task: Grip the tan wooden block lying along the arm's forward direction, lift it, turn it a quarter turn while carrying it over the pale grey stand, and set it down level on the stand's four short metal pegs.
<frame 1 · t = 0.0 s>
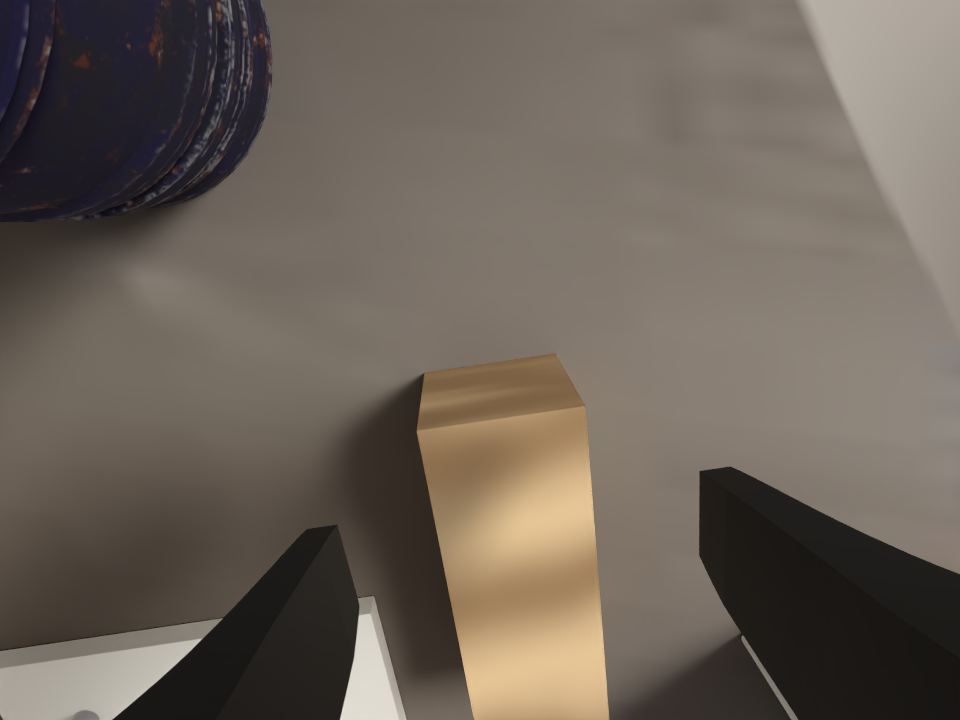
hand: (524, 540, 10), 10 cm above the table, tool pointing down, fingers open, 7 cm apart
peg stand: (217, 704, 25), on the table
storage jar: (112, 43, 16), on the table
tan wooden block: (510, 513, 23), on the table
ink box: (815, 657, 26), on the table
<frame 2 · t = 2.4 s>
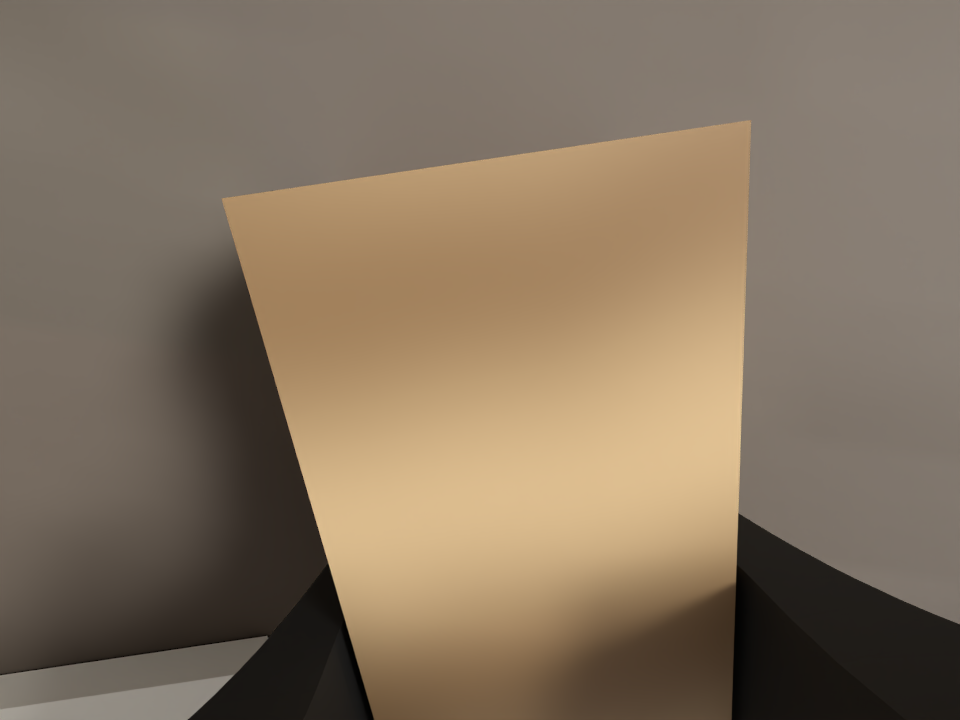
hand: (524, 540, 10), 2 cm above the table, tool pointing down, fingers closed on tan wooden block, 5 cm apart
tan wooden block: (514, 490, 12), on the table, touching gripper
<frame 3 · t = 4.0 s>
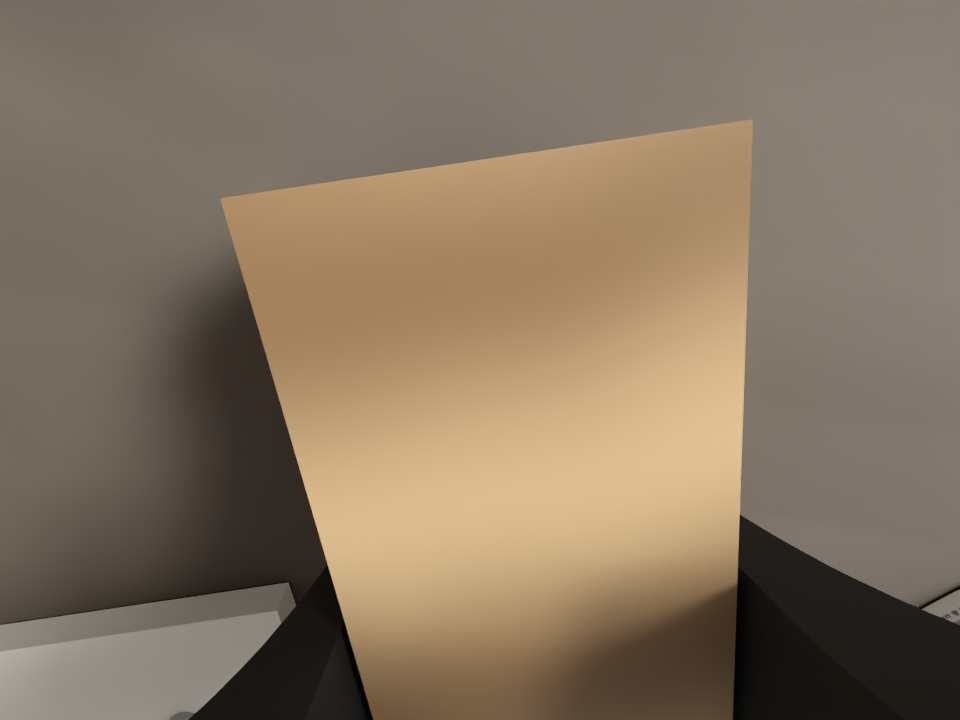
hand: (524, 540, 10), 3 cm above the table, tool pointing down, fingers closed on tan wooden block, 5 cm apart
tan wooden block: (514, 491, 12), point 2 cm above the table, touching gripper
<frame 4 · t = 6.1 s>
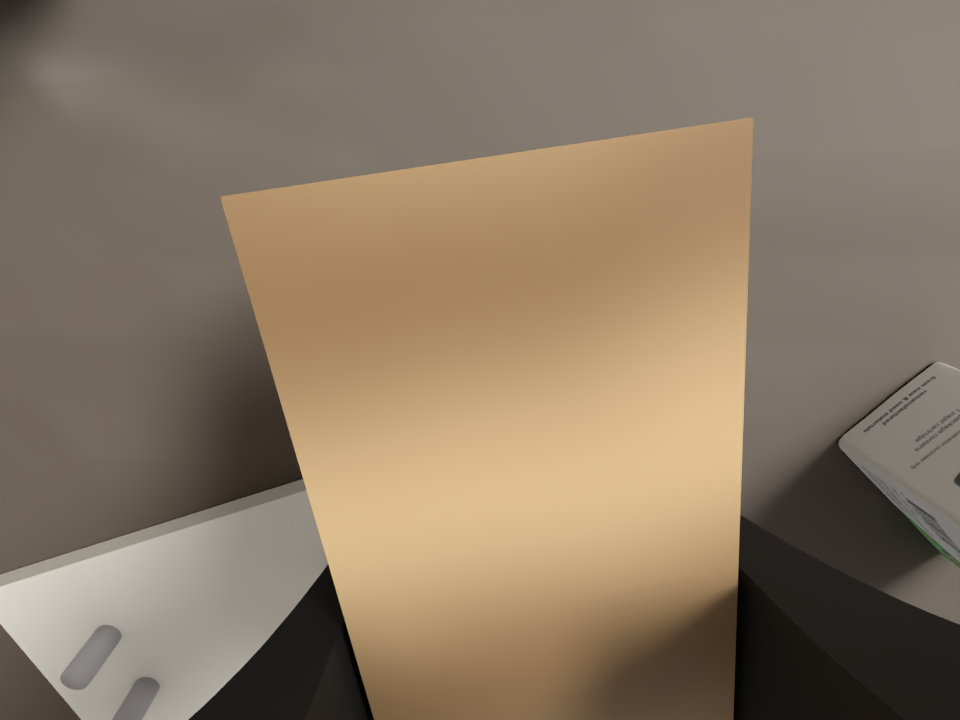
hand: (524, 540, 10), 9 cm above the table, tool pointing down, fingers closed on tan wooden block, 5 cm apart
peg stand: (249, 607, 22), on the table
tan wooden block: (514, 490, 12), point 8 cm above the table, touching gripper
ink box: (933, 460, 22), on the table
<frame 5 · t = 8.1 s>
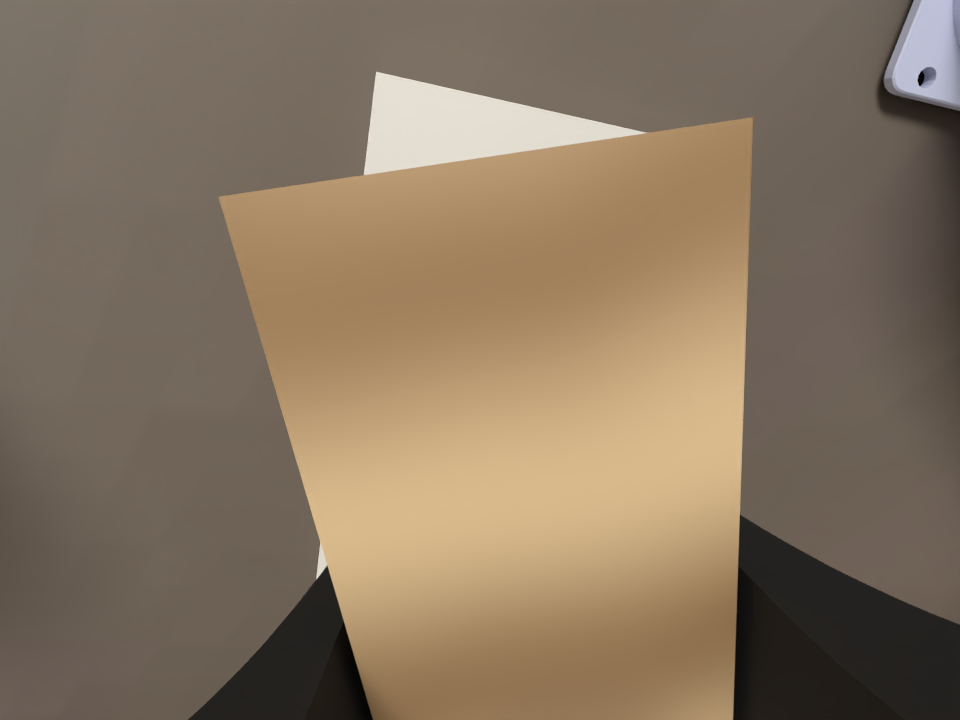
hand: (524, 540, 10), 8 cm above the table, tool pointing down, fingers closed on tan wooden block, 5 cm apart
peg stand: (494, 385, 18), on the table
tan wooden block: (514, 491, 12), point 6 cm above the table, touching gripper
when the fingers open (6 cm above the table, at t = 9.8 s): tan wooden block stays where it is, resting on peg stand.
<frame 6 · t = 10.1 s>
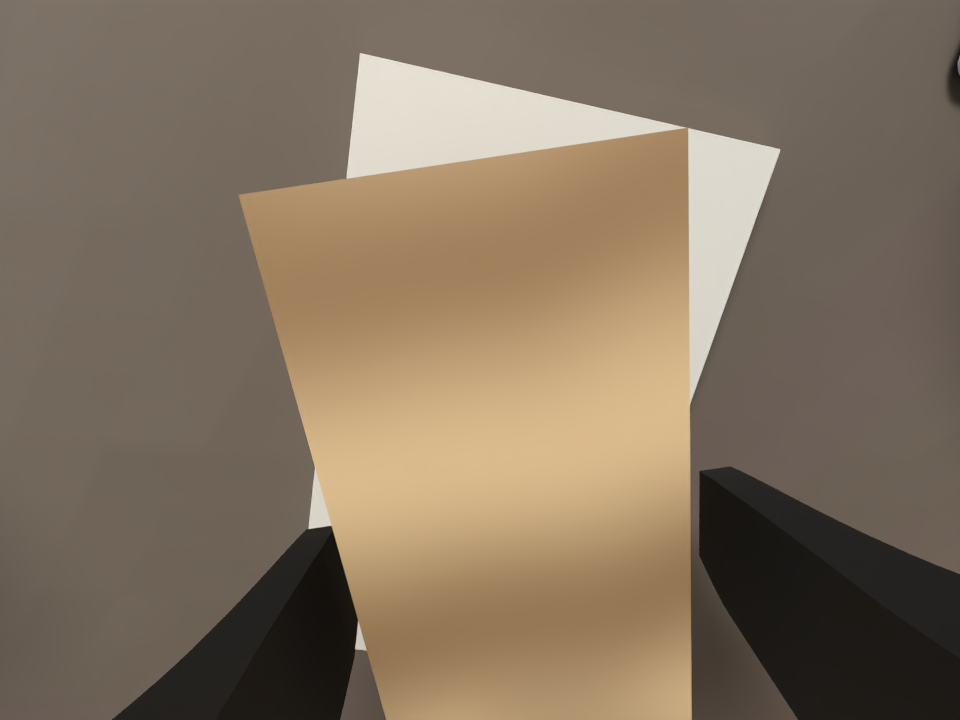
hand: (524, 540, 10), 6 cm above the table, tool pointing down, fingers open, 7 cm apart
peg stand: (499, 416, 16), on the table
tan wooden block: (510, 468, 13), point 3 cm above the table, touching peg stand
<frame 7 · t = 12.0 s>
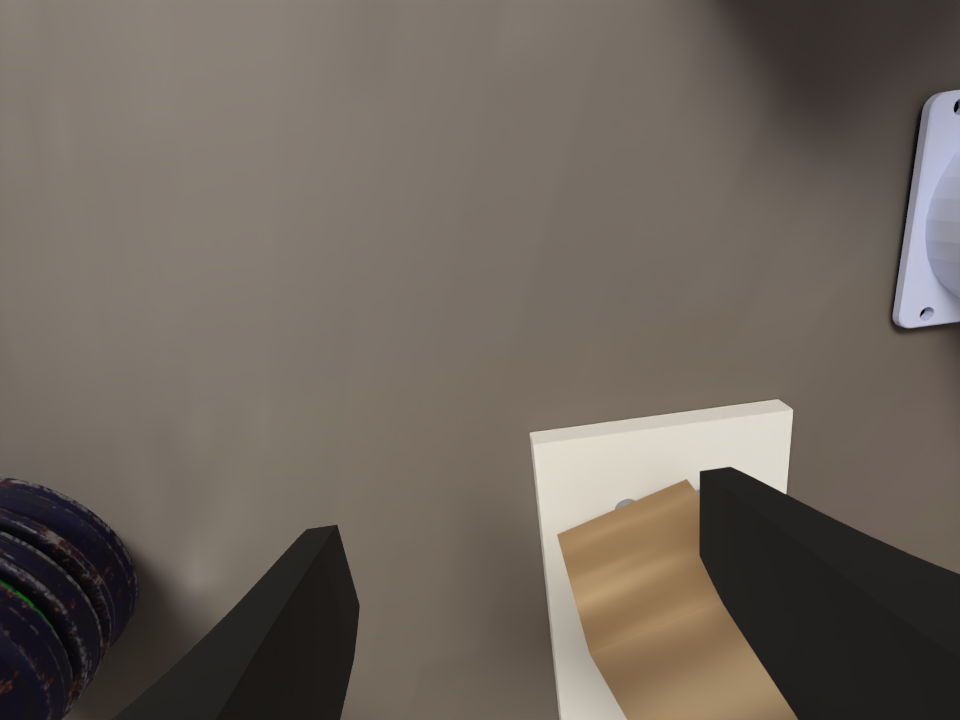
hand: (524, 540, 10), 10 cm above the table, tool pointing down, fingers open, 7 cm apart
peg stand: (656, 584, 24), on the table
storage jar: (22, 572, 22), on the table
tan wooden block: (683, 638, 21), point 3 cm above the table, touching peg stand
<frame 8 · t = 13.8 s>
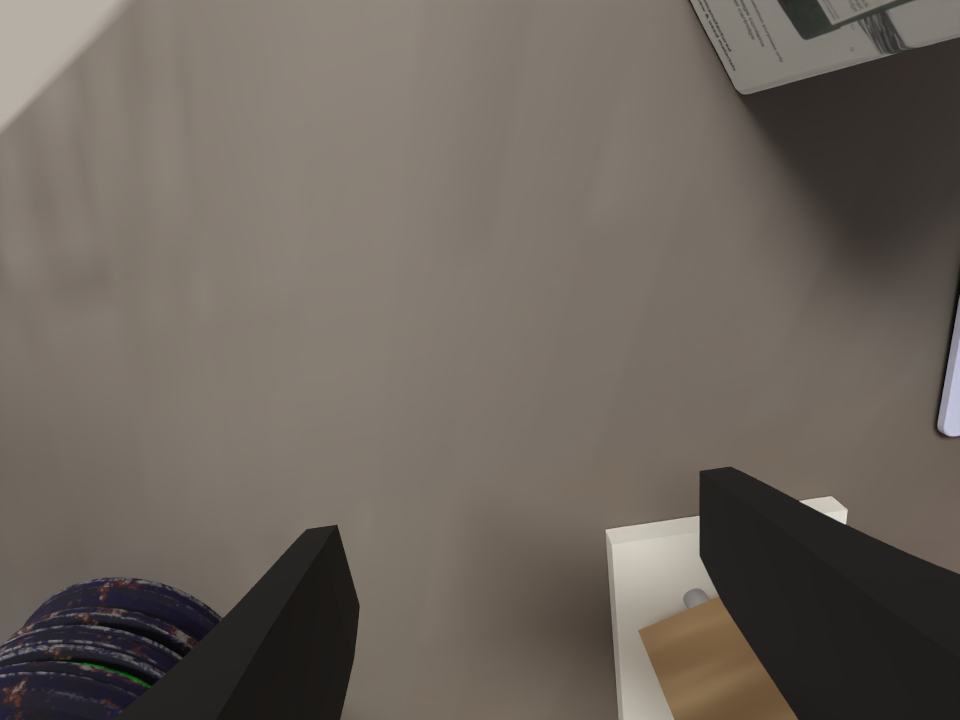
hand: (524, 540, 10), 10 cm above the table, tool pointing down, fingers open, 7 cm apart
peg stand: (715, 656, 26), on the table
storage jar: (139, 657, 25), on the table
tan wooden block: (747, 715, 23), point 3 cm above the table, touching peg stand
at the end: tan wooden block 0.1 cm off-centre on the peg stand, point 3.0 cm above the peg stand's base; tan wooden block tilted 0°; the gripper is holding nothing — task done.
